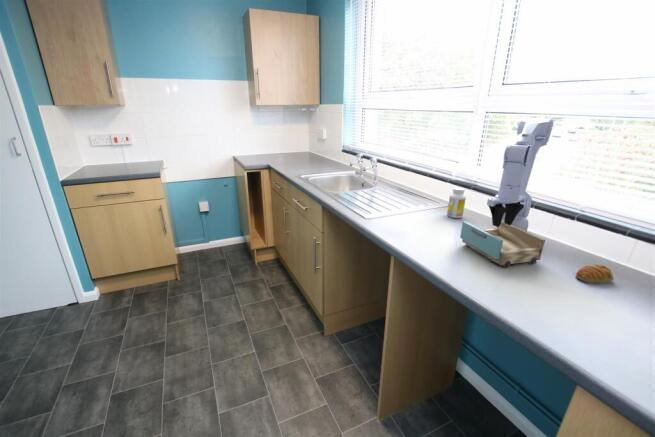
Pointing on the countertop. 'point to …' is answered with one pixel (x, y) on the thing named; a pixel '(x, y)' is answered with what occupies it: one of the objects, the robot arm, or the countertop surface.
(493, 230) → the tray
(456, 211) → the supplement bottle
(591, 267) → the pastry
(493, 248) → the panel
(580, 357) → the countertop surface
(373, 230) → the countertop surface
